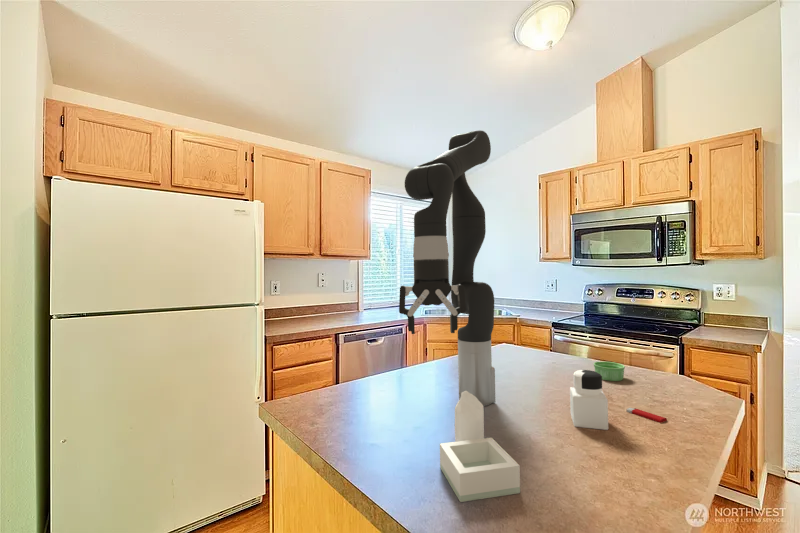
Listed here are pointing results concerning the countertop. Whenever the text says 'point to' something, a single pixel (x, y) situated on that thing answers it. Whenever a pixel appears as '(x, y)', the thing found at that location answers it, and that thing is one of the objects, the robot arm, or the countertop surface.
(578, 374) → the medicine bottle
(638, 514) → the countertop surface
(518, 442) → the countertop surface
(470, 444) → the socket
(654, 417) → the lighter
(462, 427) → the roll
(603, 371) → the ramekin
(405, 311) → the robot arm
